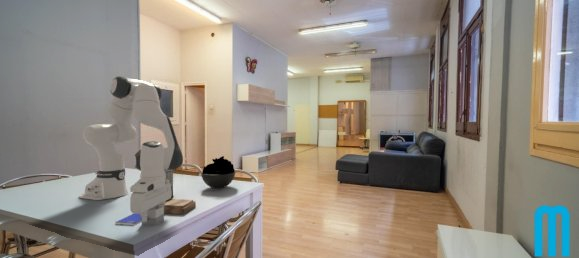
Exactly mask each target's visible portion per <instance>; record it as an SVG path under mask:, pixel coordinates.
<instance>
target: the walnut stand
mask: <svg viewBox="0 0 579 258" xmlns="http://www.w3.org/2000/svg"><path fill="white" fill-rule="evenodd" d="M194 208H196V200H195V201H194V199H181V198H173V199H172V200H170V201H168V202H167V201H165V206H164V214H166V215H167V214H168V215H170V214H171V215H186V214H187V213H189V212H191V211H192V210H193V209H194Z"/></svg>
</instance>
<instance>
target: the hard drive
mask: <svg viewBox="0 0 579 258" xmlns="http://www.w3.org/2000/svg"><path fill="white" fill-rule="evenodd" d="M140 223H142V216H141V215H140V214H135V213H132V214H130V215H128V216H126V217H123V218H121V219H119V220H116V221H115V225H120V224H123V225H122V226H136V225H138V224H140Z"/></svg>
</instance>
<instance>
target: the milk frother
mask: <svg viewBox="0 0 579 258" xmlns="http://www.w3.org/2000/svg"><path fill="white" fill-rule="evenodd" d="M164 171H165V178H167V179H169V183H170V184H171V190H172V196H171V198H170V199H168V200H166V201H165V202H168V201H170V200H172V199H174V170H168V169H167V170H164Z"/></svg>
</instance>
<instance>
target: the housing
mask: <svg viewBox="0 0 579 258" xmlns="http://www.w3.org/2000/svg"><path fill="white" fill-rule="evenodd" d="M146 214H147V216H149V220H148V221H146V222H143V221H141V225H143V226H154V227H155V226H158V225H159V224H161V223H163V222H164V221H165V213H164V206H159V205H156V206H154V207H153V208H151V209H149V210H147V213H146Z"/></svg>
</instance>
